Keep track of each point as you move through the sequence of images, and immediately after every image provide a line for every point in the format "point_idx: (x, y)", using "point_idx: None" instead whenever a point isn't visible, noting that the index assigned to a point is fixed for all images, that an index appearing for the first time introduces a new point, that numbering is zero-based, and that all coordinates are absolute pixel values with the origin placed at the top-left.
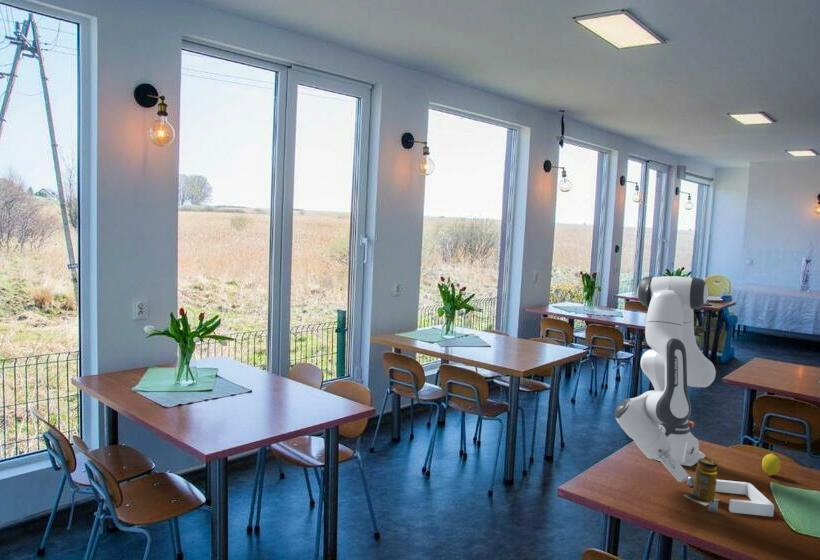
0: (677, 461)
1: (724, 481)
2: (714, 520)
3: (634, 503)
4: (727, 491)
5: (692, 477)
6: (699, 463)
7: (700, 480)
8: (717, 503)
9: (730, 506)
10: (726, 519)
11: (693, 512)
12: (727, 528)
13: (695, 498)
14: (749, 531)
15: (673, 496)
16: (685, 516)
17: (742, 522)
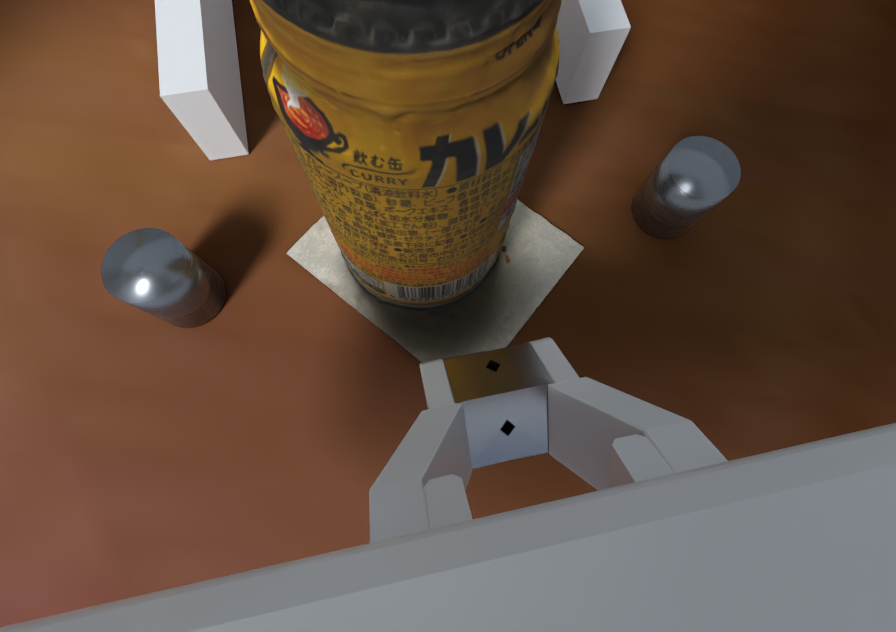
0: (649, 554)
1: (188, 2)
2: (808, 222)
3: None
4: (233, 48)
5: (148, 261)
6: (470, 43)
7: (515, 190)
8: (717, 142)
9: (598, 72)
10: (736, 144)
11: (761, 351)
12: (883, 163)
13: (467, 297)
14: (834, 51)
15: (509, 483)
16: (883, 425)
17: (721, 62)
